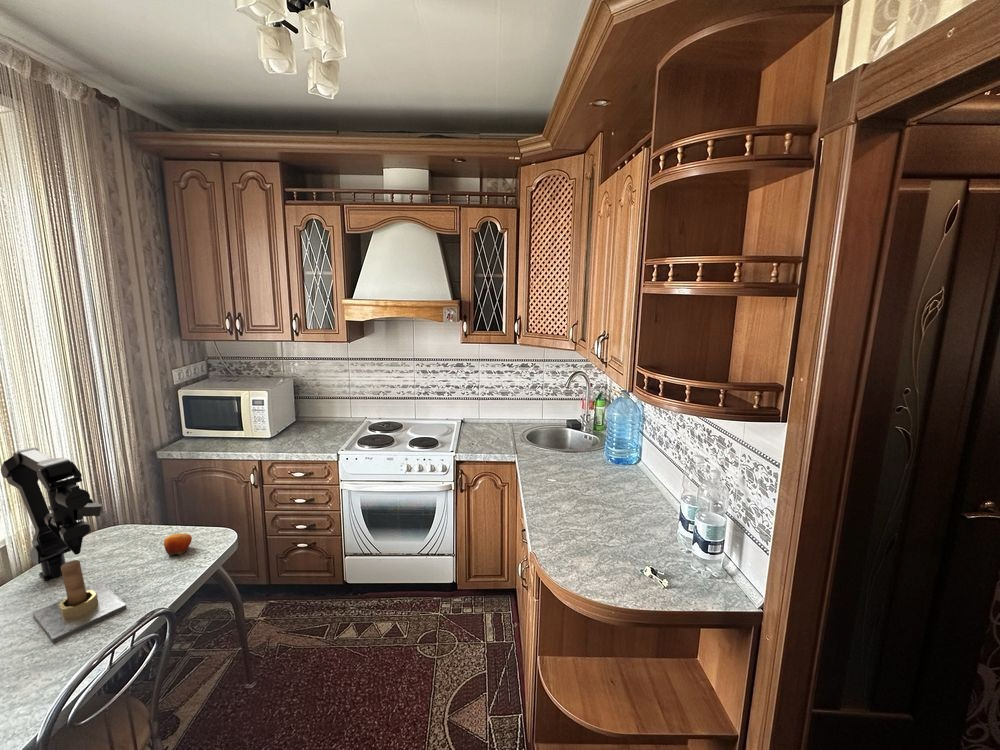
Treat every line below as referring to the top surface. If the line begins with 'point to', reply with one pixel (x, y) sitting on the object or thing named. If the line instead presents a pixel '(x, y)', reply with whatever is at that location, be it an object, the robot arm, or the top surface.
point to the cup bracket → (78, 613)
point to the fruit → (177, 543)
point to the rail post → (74, 582)
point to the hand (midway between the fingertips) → (72, 549)
